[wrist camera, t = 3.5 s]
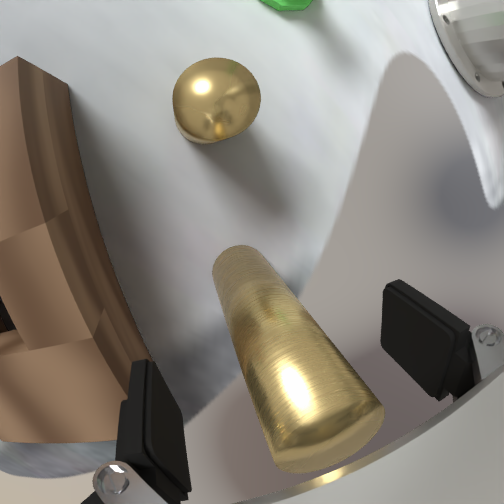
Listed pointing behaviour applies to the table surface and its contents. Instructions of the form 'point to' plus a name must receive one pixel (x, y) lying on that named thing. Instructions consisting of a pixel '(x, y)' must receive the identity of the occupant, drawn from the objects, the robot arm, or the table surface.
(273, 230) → the table surface
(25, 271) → the bridge board
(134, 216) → the table surface
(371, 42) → the table surface
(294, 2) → the game piece
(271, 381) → the tall pin
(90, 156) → the table surface
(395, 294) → the robot arm
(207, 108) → the short pin
